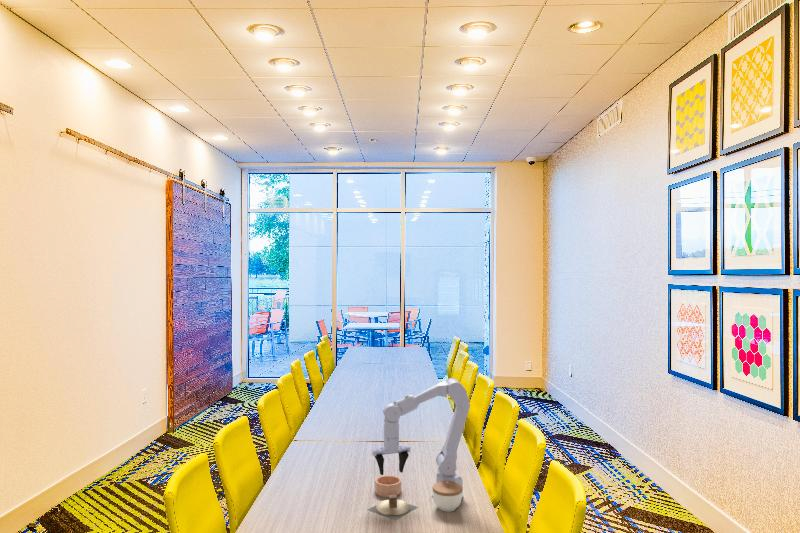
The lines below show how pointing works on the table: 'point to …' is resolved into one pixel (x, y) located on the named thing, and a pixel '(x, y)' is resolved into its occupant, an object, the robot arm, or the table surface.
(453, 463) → the robot arm
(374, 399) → the table surface
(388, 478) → the bowl
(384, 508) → the lid
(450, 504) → the lidded jar
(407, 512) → the mat
